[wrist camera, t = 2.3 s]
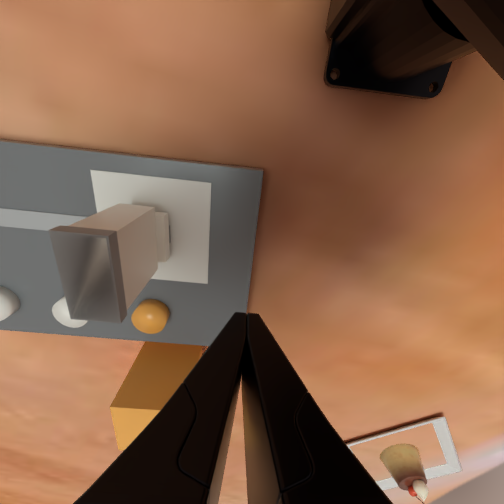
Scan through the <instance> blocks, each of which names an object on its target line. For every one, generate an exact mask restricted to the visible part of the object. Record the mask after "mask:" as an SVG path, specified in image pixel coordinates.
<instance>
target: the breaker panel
mask: <svg viewBox="0 0 504 504" xmlns="http://www.w3.org/2000/svg"><path fill="white" fill-rule="evenodd" d="M262 179H263V169H261V168H252V167H243V166H234V165H226V164H217V163H208V162H199V161H190V160H182V159H173V158H164V157H155V156H146V155H138V154H129V153H120V152H111V151H102V150H94V149H85V148H76V147H67V146H58V145H50V144H41V143H32V142H23V141H14V140H6V139H0V330H10V331H23V332H36V333H48V334H61V335H73V336H86V337H99V338H111V339H124V340H137V341H149V342H162V343H175V344H187V345H200V346H210V345H211V343H212V342H213V341H214V339H215V338H216V337H217V335H218V334H219V333H220V331H221V330H222V329H223V327H224V326H225V325H226V323H227V322H228V321H229V319H230V318H231V316H232V315H233V314H234V313H235V312H244V313H246V311H247V303H248V295H249V286H250V278H251V270H252V262H253V253H254V245H255V237H256V229H257V220H258V212H259V204H260V196H261V187H262ZM119 203H120V204H130V205H140V206H149V207H155V212H165V213H168V221H169V249H170V257H169V259H168V260H167V262H158V270H157V271H156V272H155V274H154V275H153V276H152V278H151V279H150V280H149V282H148V283H147V284H146V286H145V287H144V288H143V290H142V291H141V292H140V294H139V295H138V296H137V298H136V299H135V300H134V302H133V303H132V304H131V305H130V307H129V308H128V309H127V316H126V317H125V319H124V320H123V321H122V323H111V322H99V321H87V320H75V319H71V318H70V314H69V310H68V306H67V302H66V298H65V294H64V290H63V286H62V282H61V278H60V274H59V270H58V266H57V263H56V259H55V255H54V251H53V247H52V243H51V239H50V235H49V231H48V230H50V229H52V228H55V227H57V226H60V225H62V226H69V225H71V224H73V223H75V222H78V221H80V220H82V219H85V218H87V217H89V216H91V215H94V214H96V213H98V212H100V211H103V210H105V209H107V208H109V207H112V206H114V205H116V204H119Z"/></svg>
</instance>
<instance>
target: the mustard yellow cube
mask: <svg viewBox="0 0 504 504" xmlns="http://www.w3.org/2000/svg"><path fill="white" fill-rule="evenodd" d="M201 357H202V346H200V345H187V344H175V343H162V342H149V341H145V343H144V345H143V347H142V349H141V351H140V352H139V354H138V356H137V358H136V360H135V362H134V363H133V365H132V367H131V369H130V371H129V373H128V375H127V376H126V378H125V380H124V382H123V384H122V386H121V387H120V389H119V391H118V393H117V395H116V397H115V399H114V400H113V402H112V404H111V406H110V410H111V415H112V420H113V424H114V429H115V434H116V439H117V444H118V449H119V450H125V449H126V448H127V447H128V446H129V445H130V444H131V443H132V441H133V440H134V439H135V438H136V437H137V436H138V435H139V434H140V433H141V432H142V431H143V430H144V428H145V427H146V426H147V425H148V424H149V423H150V422H151V421H152V419H153V418H154V417H155V416H156V415H157V414H158V413H159V412H160V410H161V409H162V408H163V407H164V405H165V404H166V403H167V402H168V400H169V399H170V398H171V397H172V395H173V394H174V393H175V391H176V390H177V389H178V387H179V386H180V385H181V383H183V381H184V379H185V378H186V377H187V375H188V374H189V373H190V371H191V370H192V369H193V367H194V366H195V365H196V363H197V362H198V361H199V359H200V358H201Z"/></svg>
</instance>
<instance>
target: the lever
mask: <svg viewBox="0 0 504 504" xmlns="http://www.w3.org/2000/svg"><path fill="white" fill-rule="evenodd" d="M48 231H49V235H50V239H51V243H52V247H53V251H54V255H55V259H56V263H57V266H58V270H59V274H60V278H61V282H62V286H63V290H64V294H65V298H66V302H67V306H68V310H69V314H70V318H71V319H75V320H87V321H99V322H111V323H122V321H123V320H124V319H125V317H126V316H127V309H128V308H129V307H130V305H131V304H132V303H133V302H134V300H135V299H136V298H137V296H138V295H139V294H140V292H141V291H142V290H143V288H144V287H145V286H146V284H147V283H148V282H149V280H150V279H151V278H152V276H153V275H154V274H155V272H156V271H157V270H158V262H167V260H168V259H169V257H170V249H169V221H168V213H165V212H155V207H149V206H140V205H130V204H120V203H119V204H116V205H114V206H112V207H109V208H107V209H105V210H103V211H100V212H98V213H96V214H94V215H91V216H89V217H87V218H85V219H82V220H80V221H78V222H75V223H73V224H71V225H69V226H62V225H60V226H57V227H55V228H52V229H50V230H48Z"/></svg>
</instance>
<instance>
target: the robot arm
mask: <svg viewBox="0 0 504 504" xmlns="http://www.w3.org/2000/svg"><path fill="white" fill-rule="evenodd" d="M325 32H326V35H327V37H328V38H331V40H330V46H329V51H328V56H327V61H326V67H325V72H324V81H325V83H326V84H327V85H328V86H330V87H337V88H345V89H352V90H360V91H367V92H375V93H383V94H390V95H398V96H406V97H413V98H421V99H429V98H433V97H435V96H437V95H438V94H439V93H440V92H441V90H442V88H443V85H444V82H445V79H446V77H447V74H448V71H449V68H450V66H451V63H452V61H453V60H456V59H458V58H461V57H463V56H465V55H468V54H470V53H473V52H475V51H478V52H479V53H480V54H481V55H482V57H483V58H484V59H485V60H486V61H487V62H488V63H489V64H490V66H491V67H492V68H493V69H494V70H495V71H496V72H497V73H498V75H499V76H500V77H501V78H502V79H503V80H504V0H331V3H330V9H329V14H328V20H327V25H326V31H325ZM332 70H335V71H336V72H337V79H335V80H333V79H332V78H331V76H330V73H331V71H332ZM430 84H433V90H432V92H429V86H430ZM241 375H242V402H243V421H244V440H245V459H246V477H247V496H248V504H393V503H392V502H391V501H390V499H389V498H388V497H387V496H386V494H385V493H384V492H383V491H382V489H381V488H380V487H379V486H378V484H377V483H376V482H375V480H374V479H373V478H372V477H371V475H370V474H369V473H368V472H367V470H366V469H365V468H364V467H363V465H362V464H361V463H360V461H359V460H358V459H357V458H356V456H355V455H354V454H353V453H352V451H351V450H350V449H349V448H348V446H347V445H346V444H345V442H344V441H343V440H342V438H341V437H340V436H339V435H338V433H337V432H336V431H335V429H334V428H333V427H332V425H331V424H330V423H329V421H328V420H327V418H326V417H325V415H324V414H323V412H322V411H321V409H320V408H319V407H318V405H317V404H316V402H315V400H314V399H313V397H312V396H311V394H310V393H309V392H308V390H307V388H306V387H305V385H304V384H303V382H302V380H301V379H300V377H299V376H298V374H297V373H296V371H295V370H294V368H293V366H292V365H291V363H290V362H289V360H288V359H287V357H286V356H285V354H284V353H283V351H282V349H281V348H280V346H279V345H278V343H277V342H276V340H275V339H274V337H273V335H272V334H271V332H270V331H269V329H268V328H267V326H266V325H265V323H264V322H263V320H262V318H261V317H260V315H259V314H255V313H247V314H246V313H244V312H235V313H234V314H233V315H232V316H231V318H230V319H229V321H228V322H227V323H226V325H225V326H224V327H223V329H222V330H221V331H220V333H219V334H218V335H217V337H216V338H215V339H214V341H213V342H212V343H211V345H210V346H209V347H208V349H207V350H206V351H205V353H204V354H203V355H202V357H201V358H200V359H199V361H198V362H197V363H196V365H195V366H194V367H193V369H192V370H191V371H190V373H189V374H188V375H187V377H186V378H185V379H184V381H183V383H181V385H180V386H179V387H178V389H177V390H176V391H175V393H174V394H173V395H172V397H171V398H170V399H169V400H168V402H167V403H166V404H165V405H164V407H163V408H162V409H161V410H160V412H159V413H158V414H157V415H156V416H155V417H154V418H153V419H152V421H151V422H150V423H149V424H148V425H147V426H146V427H145V428H144V430H143V431H142V432H141V433H140V434H139V435H138V436H137V437H136V438H135V439H134V440H133V441H132V443H131V444H130V445H129V446H128V447H127V448H126V449H125V450H124V451H123V452H122V453H121V454H120V455H119V456H118V458H117V459H116V460H115V461H114V462H113V463H112V464H111V465H110V466H109V467H108V468H107V469H106V470H105V472H104V473H103V474H102V475H101V476H100V477H99V478H98V479H97V480H96V481H95V482H94V483H93V484H92V485H91V486H90V488H89V489H88V490H87V491H86V492H85V493H84V494H83V495H82V496H80V497H79V498H78V499H77V500H76V501H75V502H74V503H73V504H218V501H219V496H220V490H221V485H222V480H223V474H224V469H225V464H226V458H227V453H228V447H229V442H230V437H231V431H232V426H233V421H234V415H235V410H236V404H237V399H238V394H239V388H240V382H241Z"/></svg>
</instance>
